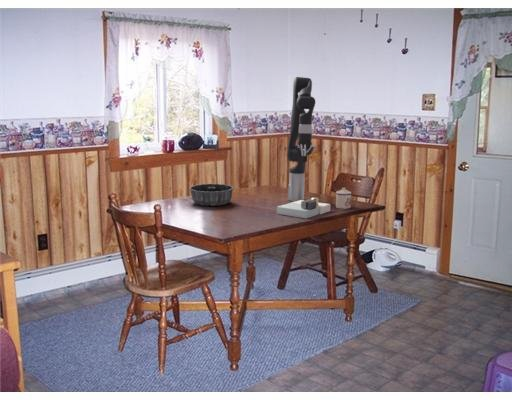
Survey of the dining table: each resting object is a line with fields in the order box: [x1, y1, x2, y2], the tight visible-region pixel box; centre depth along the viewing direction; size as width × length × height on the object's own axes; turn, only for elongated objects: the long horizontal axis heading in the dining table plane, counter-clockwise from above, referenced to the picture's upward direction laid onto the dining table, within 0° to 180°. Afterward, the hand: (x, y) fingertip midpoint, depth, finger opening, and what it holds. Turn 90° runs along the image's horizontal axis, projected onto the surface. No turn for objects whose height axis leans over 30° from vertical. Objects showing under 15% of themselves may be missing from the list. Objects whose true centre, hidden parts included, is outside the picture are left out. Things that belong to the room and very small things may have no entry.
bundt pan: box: [189, 183, 235, 207], centre depth 371 cm, size 26×26×10 cm
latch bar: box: [301, 196, 320, 209], centre depth 344 cm, size 14×4×4 cm, turn 145°
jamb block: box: [291, 199, 331, 215], centre depth 354 cm, size 20×11×4 cm, turn 54°
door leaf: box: [276, 202, 319, 219], centre depth 344 cm, size 19×13×4 cm
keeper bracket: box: [307, 201, 316, 210], centre depth 339 cm, size 2×6×4 cm, turn 144°
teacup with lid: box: [335, 187, 352, 210], centre depth 364 cm, size 12×9×12 cm
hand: (304, 162), depth 355 cm, fingers closed
